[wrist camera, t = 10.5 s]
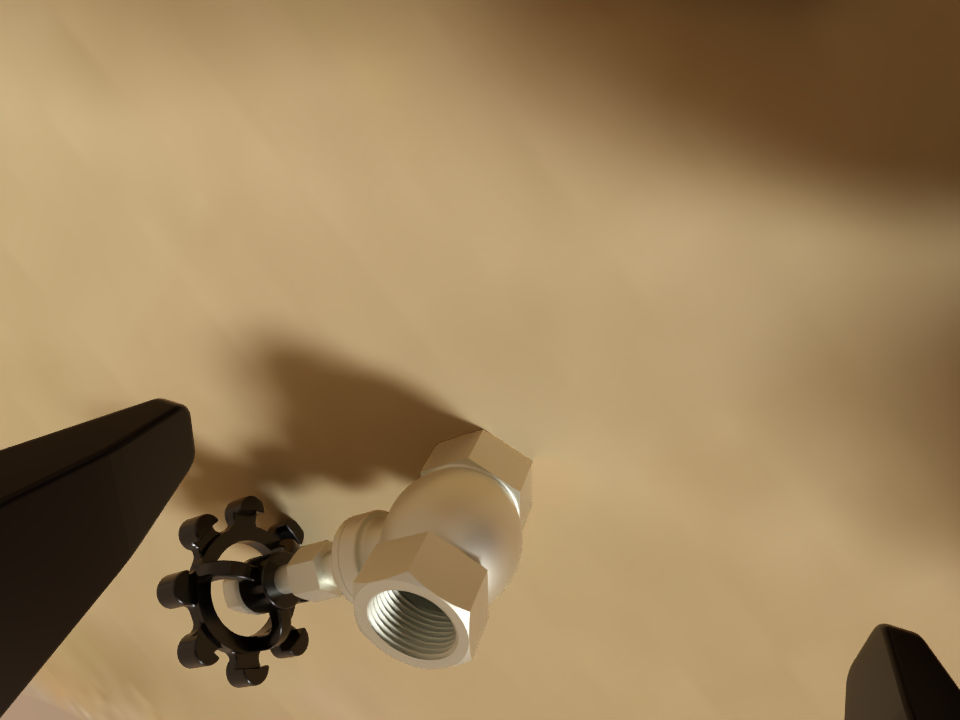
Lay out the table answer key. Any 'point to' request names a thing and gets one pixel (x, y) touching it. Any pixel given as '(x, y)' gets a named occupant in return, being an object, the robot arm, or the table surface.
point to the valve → (367, 566)
